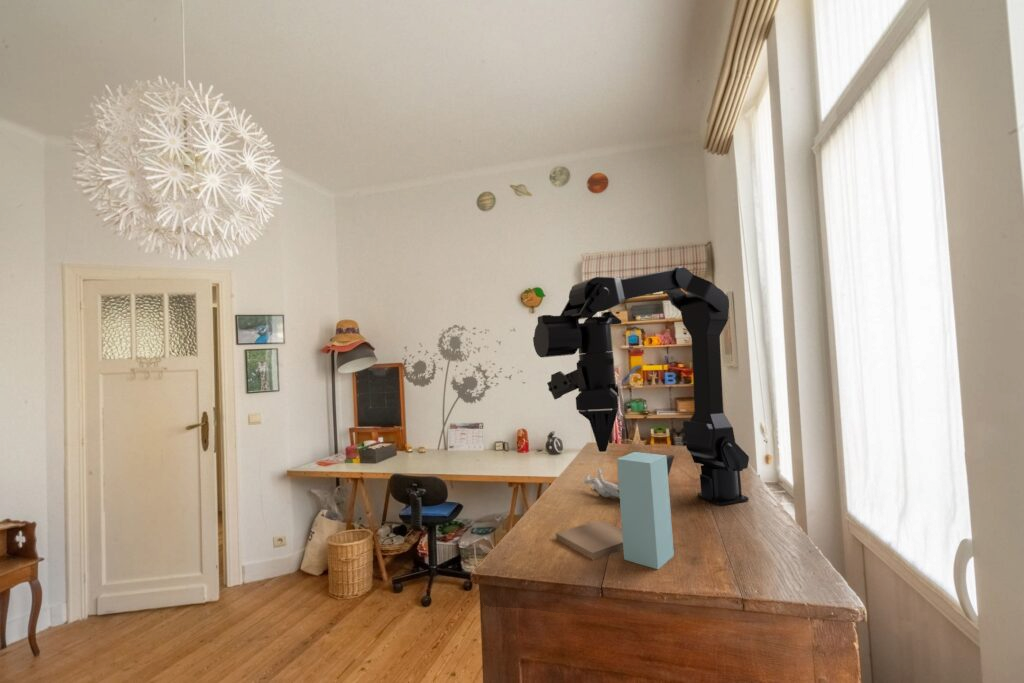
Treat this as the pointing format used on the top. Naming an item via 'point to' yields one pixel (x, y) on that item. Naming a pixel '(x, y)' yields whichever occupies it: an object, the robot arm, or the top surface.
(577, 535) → the base tile
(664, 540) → the pillar
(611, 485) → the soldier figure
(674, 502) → the top surface
